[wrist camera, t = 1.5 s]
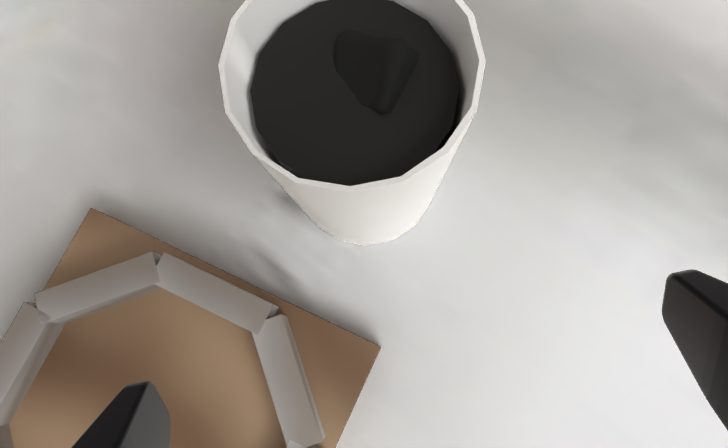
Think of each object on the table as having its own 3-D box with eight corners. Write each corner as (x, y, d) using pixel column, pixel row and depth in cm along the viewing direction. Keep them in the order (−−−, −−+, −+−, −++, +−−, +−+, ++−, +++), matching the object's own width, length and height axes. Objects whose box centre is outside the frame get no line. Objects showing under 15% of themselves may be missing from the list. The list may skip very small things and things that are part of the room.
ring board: (227, 685, 20) (207, 726, 18) (-68, 511, 22) (-118, 530, 20) (380, 346, 22) (379, 347, 20) (103, 213, 24) (75, 200, 22)
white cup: (325, 83, 25) (284, -87, 15) (468, 136, 24) (524, -6, 14) (262, 220, 24) (172, 132, 14) (410, 281, 23) (426, 234, 13)
